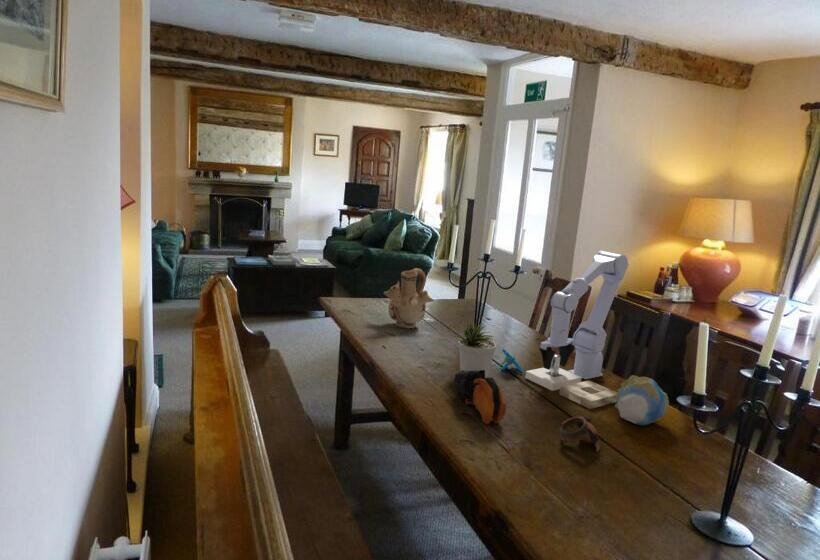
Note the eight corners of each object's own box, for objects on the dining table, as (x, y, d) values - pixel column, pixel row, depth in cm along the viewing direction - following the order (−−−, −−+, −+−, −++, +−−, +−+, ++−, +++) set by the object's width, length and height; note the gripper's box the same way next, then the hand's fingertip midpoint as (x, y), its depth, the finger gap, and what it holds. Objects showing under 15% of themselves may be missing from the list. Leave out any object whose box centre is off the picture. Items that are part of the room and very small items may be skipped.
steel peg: (552, 378, 191) (555, 353, 189) (559, 382, 188) (562, 356, 186) (546, 380, 189) (549, 354, 187) (553, 383, 187) (556, 357, 185)
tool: (475, 419, 171) (472, 369, 174) (512, 424, 150) (508, 367, 153) (451, 421, 168) (448, 370, 171) (484, 426, 147) (481, 368, 150)
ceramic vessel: (381, 319, 247) (385, 264, 242) (422, 320, 252) (427, 265, 247) (388, 332, 230) (393, 272, 225) (433, 332, 234) (438, 274, 229)
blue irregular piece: (527, 371, 191) (508, 350, 190) (514, 383, 191) (495, 361, 190) (519, 364, 202) (501, 344, 201) (506, 375, 202) (488, 355, 201)
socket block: (553, 372, 197) (554, 365, 197) (580, 384, 188) (581, 377, 187) (525, 377, 190) (526, 371, 189) (552, 390, 180) (553, 383, 179)
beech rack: (587, 387, 185) (588, 380, 185) (618, 401, 176) (620, 393, 175) (559, 394, 177) (560, 386, 177) (590, 409, 168) (591, 401, 167)
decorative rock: (635, 376, 153) (680, 377, 157) (600, 373, 168) (642, 374, 172) (636, 428, 151) (682, 428, 155) (601, 420, 166) (643, 419, 170)
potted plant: (454, 366, 195) (459, 311, 191) (493, 372, 193) (499, 316, 189) (449, 379, 183) (454, 320, 179) (491, 385, 180) (498, 325, 177)
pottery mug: (600, 460, 138) (587, 432, 137) (564, 464, 144) (551, 437, 142) (606, 430, 148) (594, 404, 147) (572, 435, 153) (560, 410, 152)
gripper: (565, 323, 192) (560, 360, 195) (535, 326, 184) (530, 365, 187) (581, 328, 187) (576, 367, 189) (551, 332, 178) (546, 373, 181)
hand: (554, 367), depth 188 cm, fingers open, 7 cm apart
